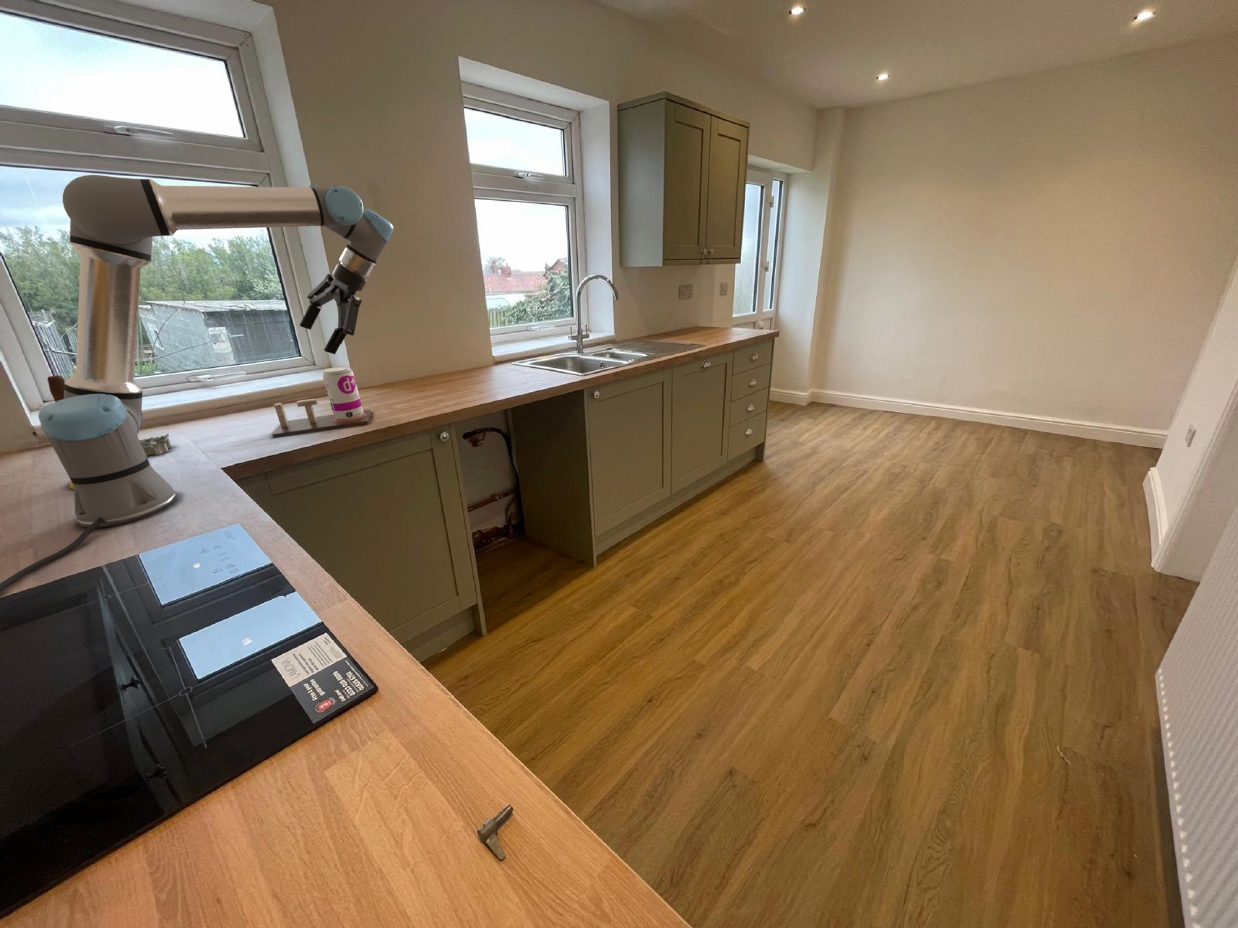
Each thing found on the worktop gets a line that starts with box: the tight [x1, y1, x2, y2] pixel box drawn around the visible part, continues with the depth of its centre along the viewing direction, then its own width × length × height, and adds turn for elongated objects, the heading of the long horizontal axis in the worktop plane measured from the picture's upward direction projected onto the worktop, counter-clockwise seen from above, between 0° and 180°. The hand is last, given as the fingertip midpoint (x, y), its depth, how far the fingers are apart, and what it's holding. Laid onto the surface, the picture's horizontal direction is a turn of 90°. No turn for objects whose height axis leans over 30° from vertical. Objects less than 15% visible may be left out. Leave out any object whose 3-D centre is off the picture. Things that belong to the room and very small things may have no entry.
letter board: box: [272, 398, 372, 438], centre depth 152 cm, size 13×25×8 cm, turn 111°
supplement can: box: [322, 365, 364, 420], centre depth 152 cm, size 8×8×15 cm
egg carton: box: [139, 433, 173, 457], centre depth 135 cm, size 11×8×4 cm
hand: (316, 339), depth 134 cm, fingers open, 13 cm apart
